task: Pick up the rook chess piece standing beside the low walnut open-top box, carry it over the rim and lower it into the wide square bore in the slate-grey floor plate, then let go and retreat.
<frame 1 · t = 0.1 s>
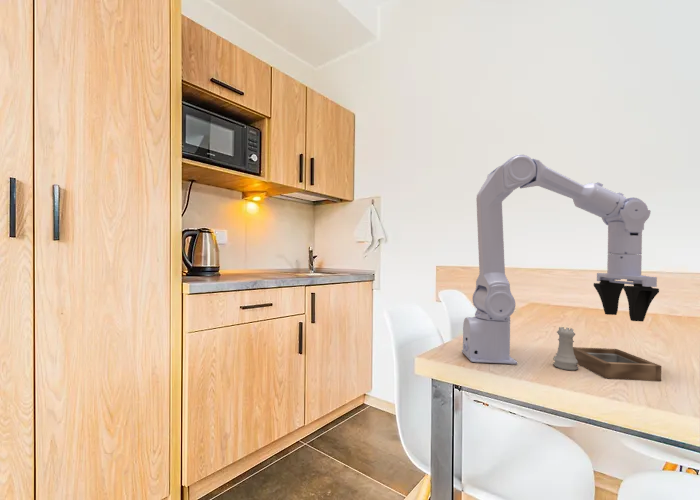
hand: (623, 317, 73), 10 cm above the table, fingers open, 7 cm apart
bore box: (611, 369, 69), on the table
rook chess piece: (565, 368, 70), on the table
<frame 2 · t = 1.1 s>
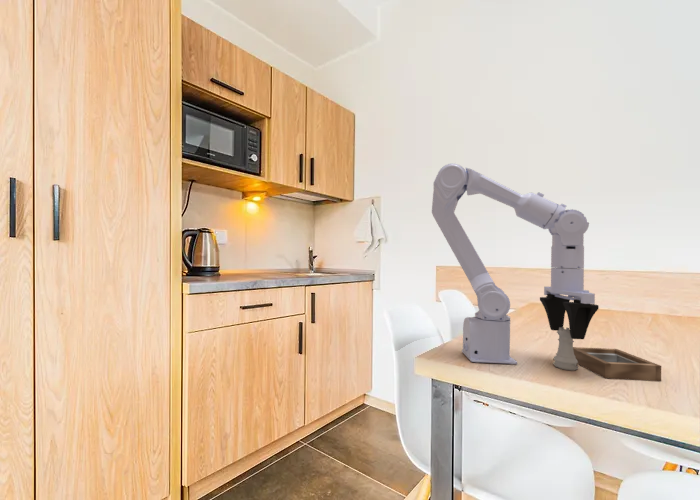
hand: (566, 334, 70), 7 cm above the table, fingers open, 7 cm apart
nothing on the table moved.
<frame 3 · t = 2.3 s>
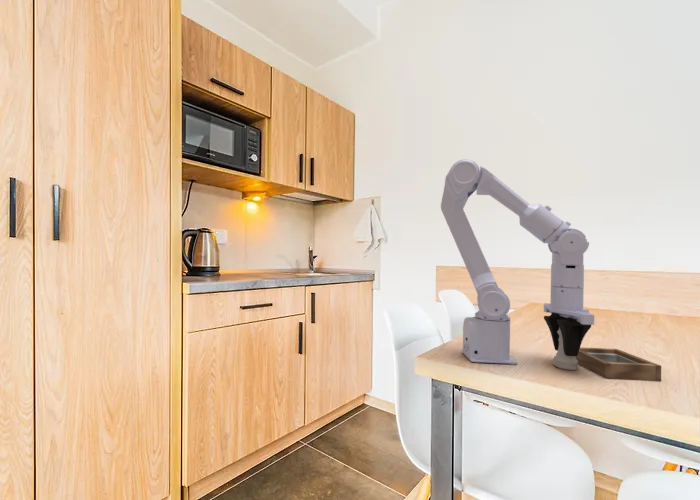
hand: (565, 353, 70), 3 cm above the table, fingers closed on rook chess piece, 3 cm apart
rook chess piece: (565, 368, 70), on the table, touching gripper
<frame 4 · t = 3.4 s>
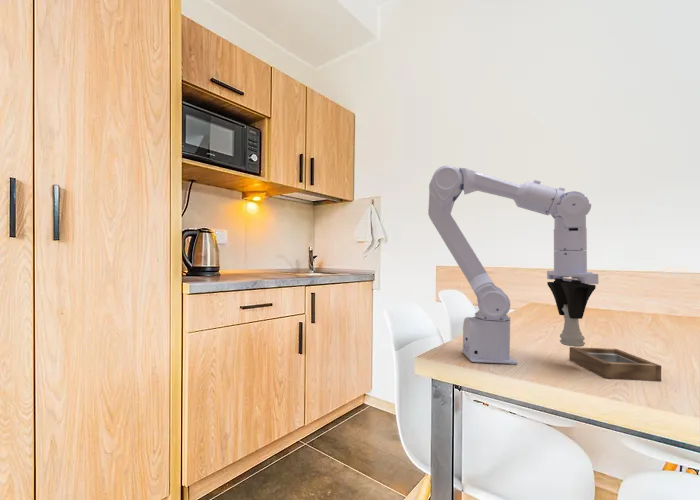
hand: (570, 316, 70), 10 cm above the table, fingers closed on rook chess piece, 3 cm apart
rook chess piece: (572, 345, 69), point 5 cm above the table, touching gripper
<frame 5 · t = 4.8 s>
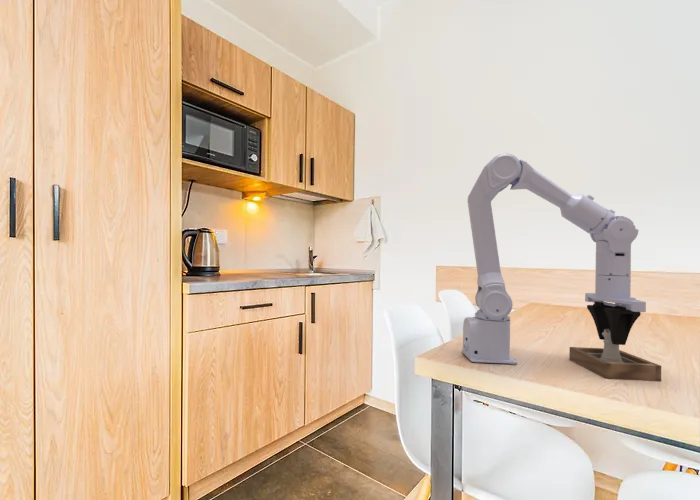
hand: (611, 341, 69), 6 cm above the table, fingers closed on rook chess piece, 3 cm apart
rook chess piece: (611, 370, 69), resting in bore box, touching gripper
when the fingers open (4 cm above the table, at t = 5.3 s): rook chess piece stays where it is, resting in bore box.
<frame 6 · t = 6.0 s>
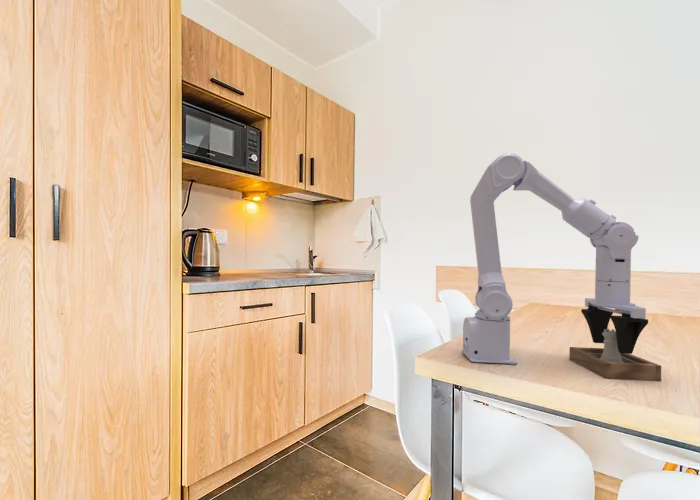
hand: (611, 347, 69), 4 cm above the table, fingers open, 7 cm apart
rook chess piece: (611, 370, 69), resting in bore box
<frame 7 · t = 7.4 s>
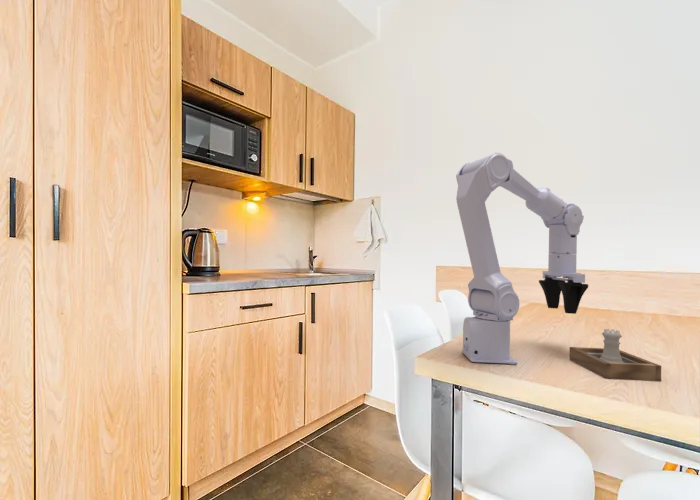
hand: (561, 310, 81), 10 cm above the table, fingers open, 7 cm apart
nothing on the table moved.
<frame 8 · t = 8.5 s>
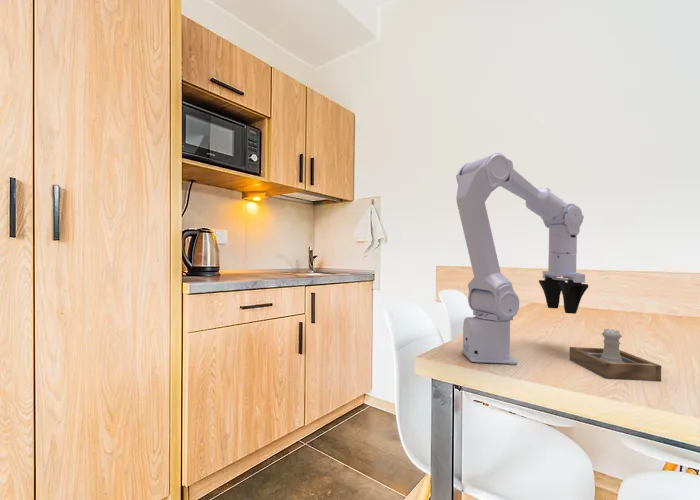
hand: (561, 310, 81), 10 cm above the table, fingers open, 7 cm apart
nothing on the table moved.
at the end: rook chess piece 0.0 cm off-centre on the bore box, point 0.0 cm above the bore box's base; rook chess piece tilted 0°; the gripper is holding nothing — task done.
